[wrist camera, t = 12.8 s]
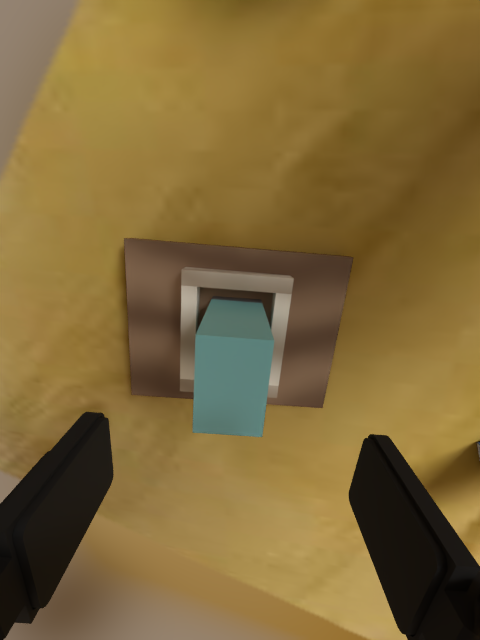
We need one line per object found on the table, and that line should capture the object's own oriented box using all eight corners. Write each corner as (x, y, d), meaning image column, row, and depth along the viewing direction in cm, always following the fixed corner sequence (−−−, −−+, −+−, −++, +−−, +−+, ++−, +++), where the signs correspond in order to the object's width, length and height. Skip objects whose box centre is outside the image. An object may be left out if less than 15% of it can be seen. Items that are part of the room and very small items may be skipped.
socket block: (131, 238, 22) (114, 238, 19) (346, 256, 22) (362, 259, 20) (137, 386, 26) (124, 405, 23) (318, 398, 27) (327, 419, 24)
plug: (212, 295, 22) (195, 334, 13) (261, 299, 22) (274, 340, 14) (209, 361, 24) (192, 432, 15) (254, 364, 24) (262, 437, 15)
